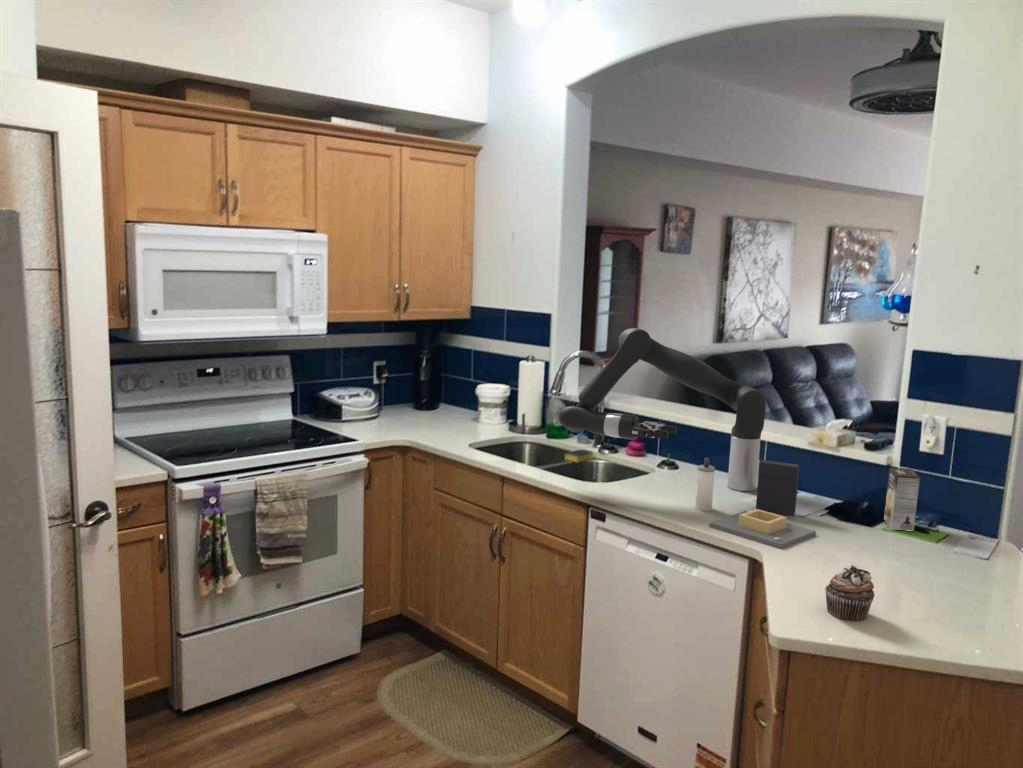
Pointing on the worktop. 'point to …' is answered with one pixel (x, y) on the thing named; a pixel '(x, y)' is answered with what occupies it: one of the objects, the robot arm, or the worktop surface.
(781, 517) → the socket dock
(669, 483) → the worktop surface
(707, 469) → the white cylindrical bottle
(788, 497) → the dark grey upright panel
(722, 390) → the robot arm
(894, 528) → the coffee box
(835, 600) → the cupcake
